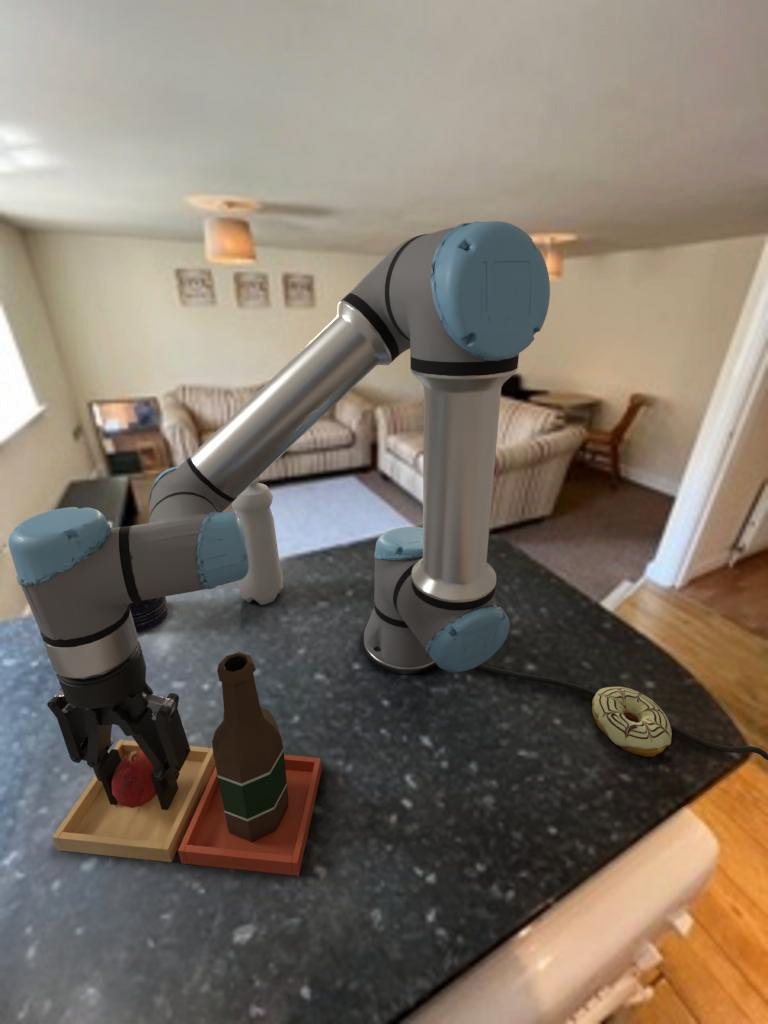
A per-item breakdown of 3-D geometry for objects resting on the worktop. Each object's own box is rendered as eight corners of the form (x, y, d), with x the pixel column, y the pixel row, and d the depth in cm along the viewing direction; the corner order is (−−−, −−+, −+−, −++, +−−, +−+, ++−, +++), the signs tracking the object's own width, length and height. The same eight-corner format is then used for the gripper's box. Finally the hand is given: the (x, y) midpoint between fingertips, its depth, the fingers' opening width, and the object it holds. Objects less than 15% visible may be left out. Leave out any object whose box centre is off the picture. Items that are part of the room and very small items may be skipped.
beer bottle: (232, 781, 58) (206, 637, 48) (292, 778, 59) (279, 634, 49) (217, 847, 51) (182, 695, 41) (285, 842, 52) (269, 691, 42)
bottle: (231, 604, 93) (212, 467, 80) (252, 580, 101) (237, 452, 88) (272, 611, 91) (259, 472, 78) (290, 586, 99) (281, 457, 86)
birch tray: (217, 760, 61) (215, 748, 60) (171, 862, 50) (167, 849, 49) (123, 751, 62) (119, 739, 61) (58, 850, 51) (51, 837, 50)
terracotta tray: (321, 770, 61) (321, 757, 59) (298, 876, 49) (297, 863, 48) (225, 761, 61) (223, 748, 60) (181, 863, 50) (177, 850, 49)
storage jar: (100, 626, 85) (75, 544, 78) (141, 597, 94) (122, 521, 86) (140, 640, 82) (118, 555, 75) (179, 609, 91) (163, 530, 83)
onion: (150, 826, 53) (136, 783, 49) (108, 815, 54) (91, 772, 50) (180, 780, 58) (169, 737, 55) (140, 771, 59) (127, 729, 56)
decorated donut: (612, 762, 63) (618, 744, 61) (577, 700, 72) (582, 683, 71) (682, 758, 64) (691, 740, 62) (638, 698, 73) (644, 681, 72)
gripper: (203, 636, 49) (230, 774, 59) (39, 624, 50) (93, 761, 60) (168, 690, 42) (205, 835, 52) (-20, 674, 43) (51, 820, 53)
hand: (145, 796), depth 56 cm, fingers closed on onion, 6 cm apart
